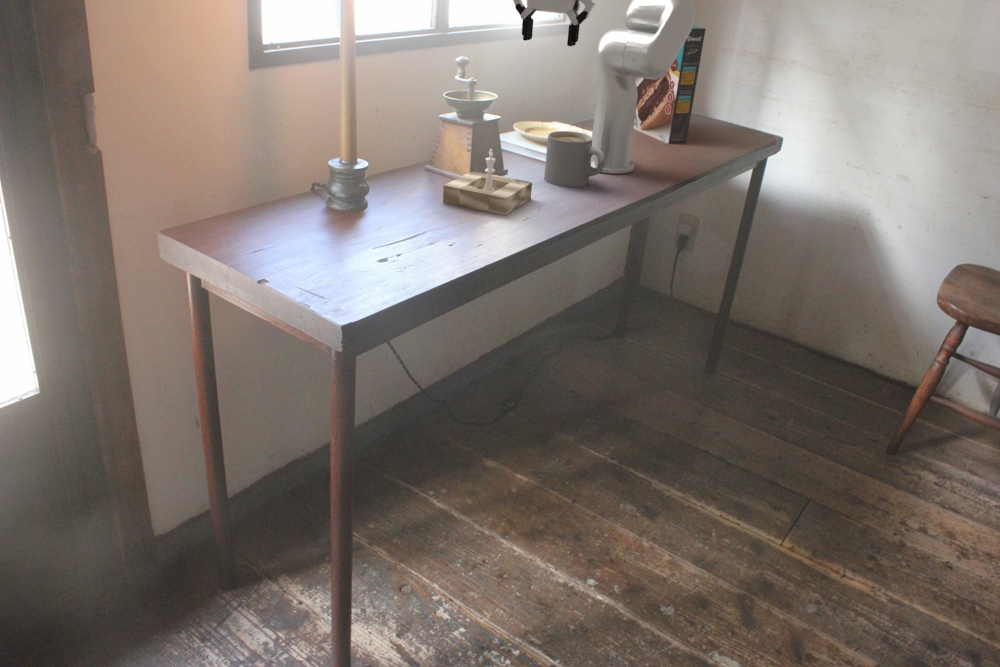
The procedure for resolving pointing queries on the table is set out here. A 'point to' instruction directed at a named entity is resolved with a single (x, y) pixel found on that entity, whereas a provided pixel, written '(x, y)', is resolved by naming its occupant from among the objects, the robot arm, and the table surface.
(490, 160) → the chess piece
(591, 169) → the coffee mug
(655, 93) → the cake mix box
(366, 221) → the table surface
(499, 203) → the socket board
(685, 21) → the robot arm
